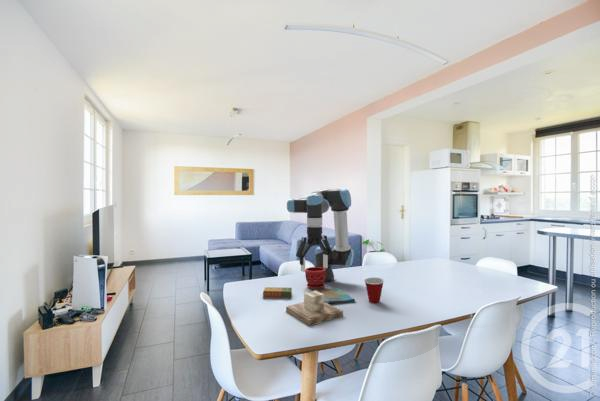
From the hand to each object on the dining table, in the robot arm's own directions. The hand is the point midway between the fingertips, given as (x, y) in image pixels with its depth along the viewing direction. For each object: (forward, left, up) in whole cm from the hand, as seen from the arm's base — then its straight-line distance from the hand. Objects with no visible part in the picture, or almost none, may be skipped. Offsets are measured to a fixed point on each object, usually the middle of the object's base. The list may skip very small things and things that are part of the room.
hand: (314, 269), depth 144 cm
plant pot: (-26, -34, -22) cm, 48 cm away
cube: (0, 0, -19) cm, 19 cm away
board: (0, 0, -22) cm, 22 cm away
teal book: (-24, -14, -23) cm, 36 cm away
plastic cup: (-38, +4, -22) cm, 44 cm away
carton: (+2, -33, -22) cm, 40 cm away
